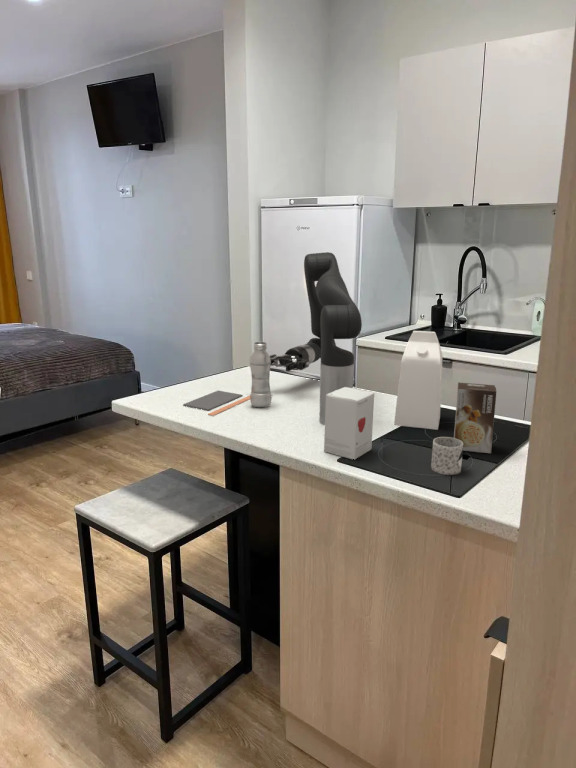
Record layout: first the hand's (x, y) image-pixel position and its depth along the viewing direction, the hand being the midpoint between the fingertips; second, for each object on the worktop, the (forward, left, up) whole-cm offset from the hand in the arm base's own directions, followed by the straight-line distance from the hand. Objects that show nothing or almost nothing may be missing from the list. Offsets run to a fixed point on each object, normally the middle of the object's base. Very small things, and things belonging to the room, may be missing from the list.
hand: (275, 366), depth 176 cm
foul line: (+8, +12, -11) cm, 18 cm away
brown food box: (-64, +10, -11) cm, 66 cm away
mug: (-61, +25, -11) cm, 67 cm away
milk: (-46, -3, -11) cm, 47 cm away
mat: (+16, +12, -11) cm, 23 cm away
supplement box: (-38, +28, -11) cm, 48 cm away
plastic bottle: (0, +9, -11) cm, 14 cm away
